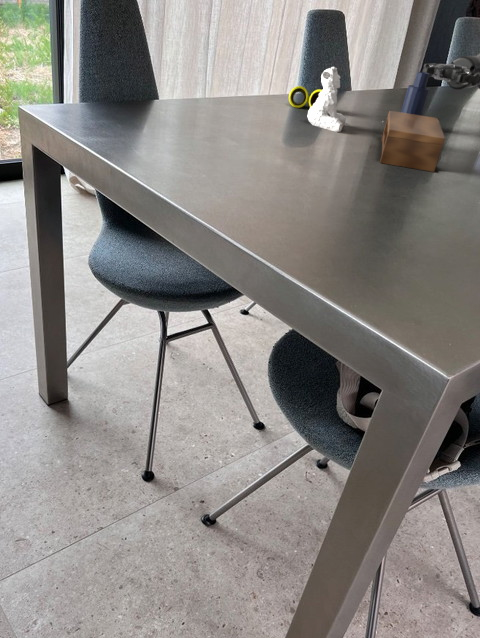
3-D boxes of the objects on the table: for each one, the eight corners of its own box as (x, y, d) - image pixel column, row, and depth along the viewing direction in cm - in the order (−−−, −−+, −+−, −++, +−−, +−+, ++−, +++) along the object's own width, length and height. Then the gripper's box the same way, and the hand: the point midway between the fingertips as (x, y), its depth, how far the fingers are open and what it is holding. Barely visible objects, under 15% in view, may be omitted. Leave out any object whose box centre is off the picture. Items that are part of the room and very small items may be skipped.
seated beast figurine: (340, 133, 125) (354, 72, 118) (302, 126, 126) (313, 66, 119) (344, 125, 132) (358, 67, 125) (308, 119, 134) (319, 62, 127)
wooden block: (428, 147, 122) (437, 118, 118) (433, 172, 106) (445, 138, 102) (381, 140, 123) (389, 110, 120) (379, 162, 107) (389, 129, 104)
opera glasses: (326, 113, 145) (331, 92, 143) (324, 112, 141) (329, 90, 139) (290, 107, 148) (294, 86, 146) (286, 106, 143) (291, 84, 141)
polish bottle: (417, 127, 138) (433, 73, 131) (418, 131, 134) (435, 75, 127) (396, 124, 139) (412, 70, 132) (397, 128, 135) (413, 72, 128)
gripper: (487, 93, 146) (464, 98, 136) (436, 82, 153) (409, 86, 143) (499, 61, 142) (476, 63, 131) (445, 51, 149) (419, 52, 139)
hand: (441, 75), depth 137 cm, fingers open, 8 cm apart
